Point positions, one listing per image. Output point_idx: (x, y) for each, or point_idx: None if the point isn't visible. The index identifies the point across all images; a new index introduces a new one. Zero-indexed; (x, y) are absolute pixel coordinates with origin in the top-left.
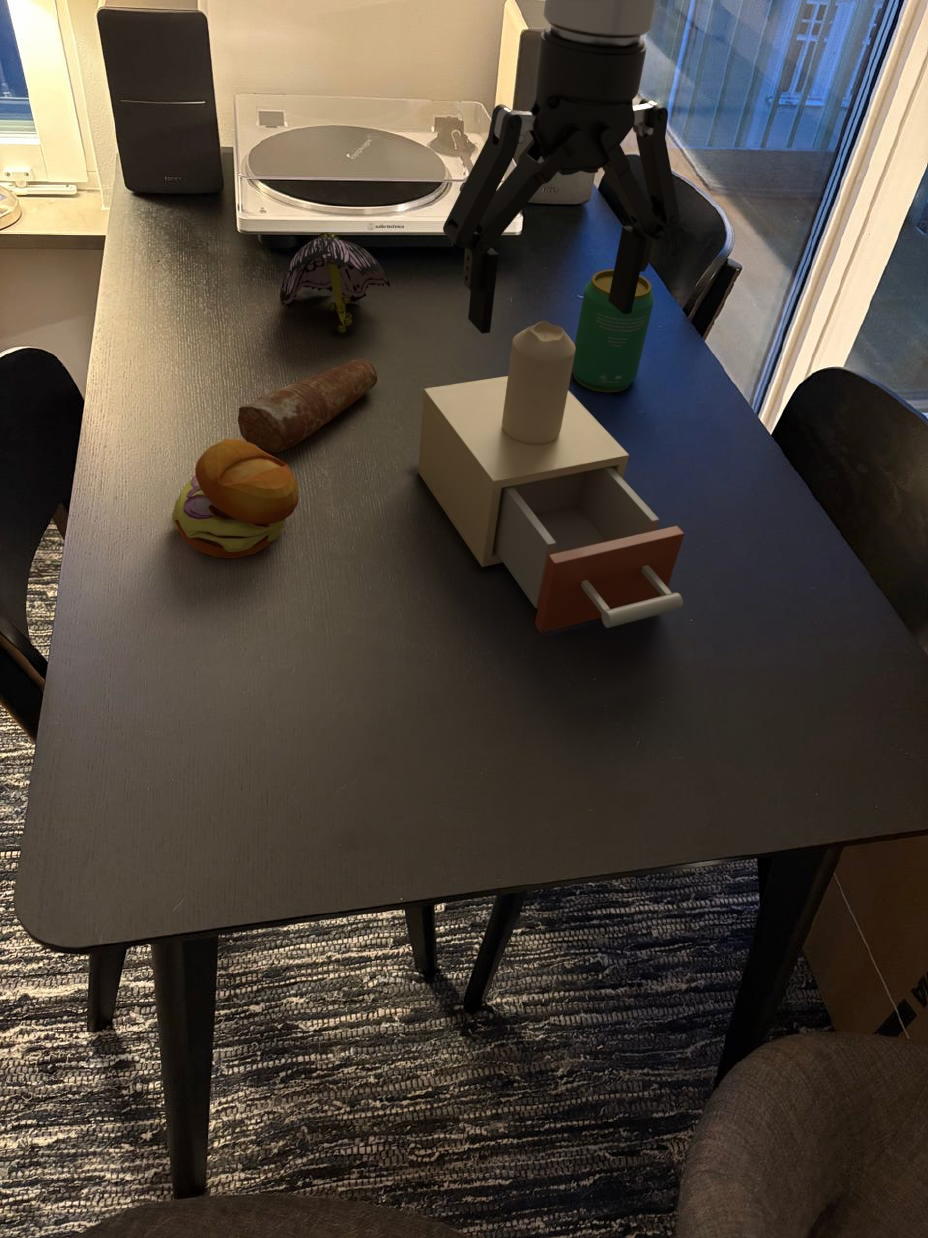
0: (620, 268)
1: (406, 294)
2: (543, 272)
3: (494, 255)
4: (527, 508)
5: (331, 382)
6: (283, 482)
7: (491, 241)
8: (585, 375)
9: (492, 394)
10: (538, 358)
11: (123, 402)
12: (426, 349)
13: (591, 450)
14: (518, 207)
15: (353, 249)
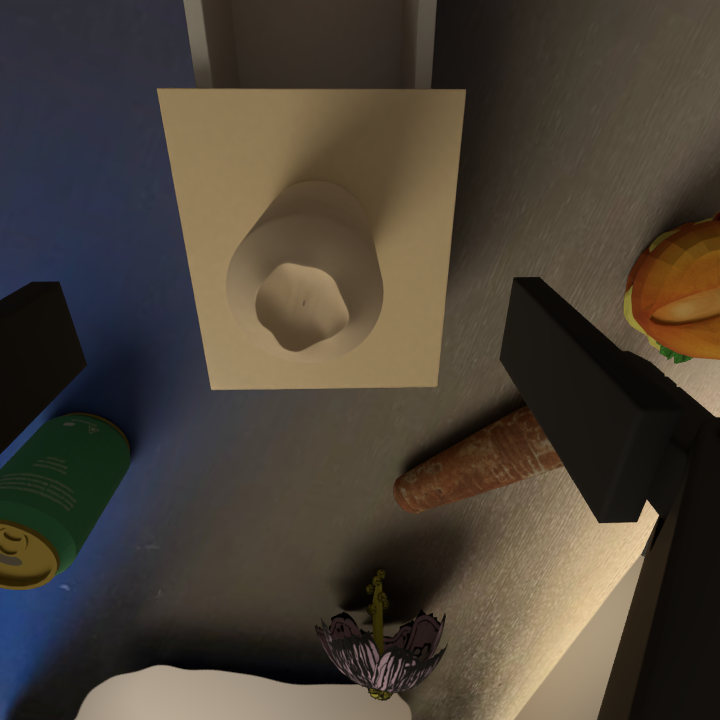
0: (8, 400)
1: (280, 616)
2: (99, 630)
3: (659, 405)
4: (423, 10)
5: (475, 473)
6: (700, 261)
7: (716, 455)
8: (117, 440)
9: None
10: (352, 234)
11: (648, 507)
12: (298, 530)
13: (231, 129)
14: (698, 616)
15: (367, 671)
